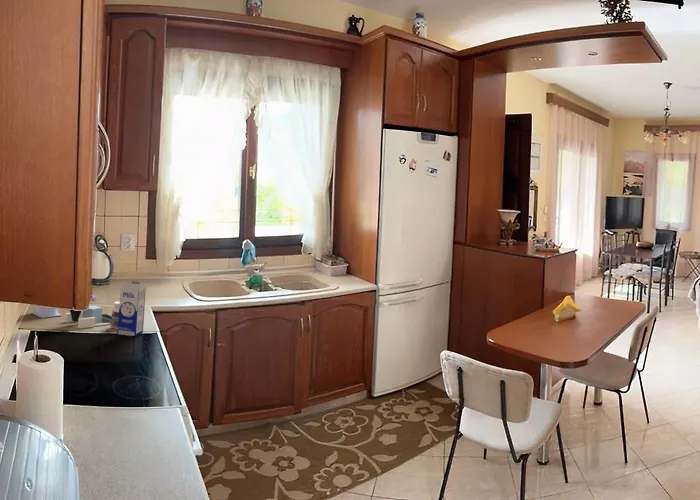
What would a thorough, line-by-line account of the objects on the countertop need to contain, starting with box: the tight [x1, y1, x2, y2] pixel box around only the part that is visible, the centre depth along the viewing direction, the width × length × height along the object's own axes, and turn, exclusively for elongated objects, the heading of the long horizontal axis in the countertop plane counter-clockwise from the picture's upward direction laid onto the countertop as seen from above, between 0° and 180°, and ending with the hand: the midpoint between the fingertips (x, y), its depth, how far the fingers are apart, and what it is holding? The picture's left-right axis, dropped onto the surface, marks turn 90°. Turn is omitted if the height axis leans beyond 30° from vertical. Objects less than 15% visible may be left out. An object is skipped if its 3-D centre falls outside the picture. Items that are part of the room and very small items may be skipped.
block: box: [82, 304, 103, 324], centre depth 229 cm, size 5×5×6 cm
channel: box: [65, 311, 111, 329], centre depth 227 cm, size 11×12×4 cm
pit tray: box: [102, 313, 112, 323], centre depth 233 cm, size 11×4×2 cm, turn 51°
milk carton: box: [117, 280, 147, 337], centre depth 217 cm, size 7×7×20 cm
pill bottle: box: [110, 300, 120, 330], centre depth 225 cm, size 6×6×10 cm
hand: (75, 320), depth 223 cm, fingers closed
